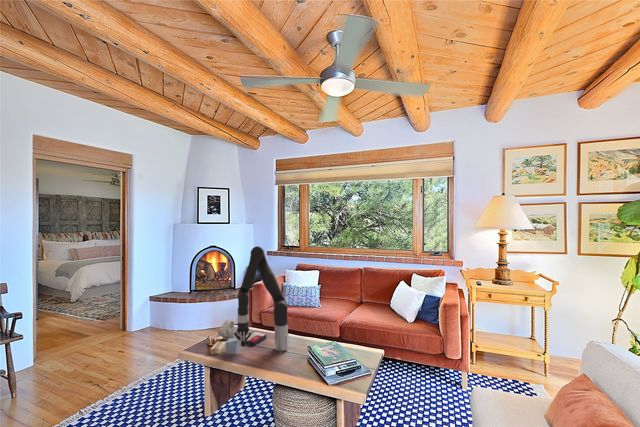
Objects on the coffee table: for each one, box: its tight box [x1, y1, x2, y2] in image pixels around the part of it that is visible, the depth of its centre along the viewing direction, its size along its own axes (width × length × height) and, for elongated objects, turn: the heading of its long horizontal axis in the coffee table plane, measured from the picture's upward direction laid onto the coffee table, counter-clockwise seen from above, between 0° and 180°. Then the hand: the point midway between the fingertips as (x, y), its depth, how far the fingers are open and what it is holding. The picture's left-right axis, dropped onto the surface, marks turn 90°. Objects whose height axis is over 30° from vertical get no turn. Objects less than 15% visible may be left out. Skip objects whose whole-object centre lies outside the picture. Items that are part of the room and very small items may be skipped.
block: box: [225, 337, 240, 355], centre depth 206 cm, size 7×7×8 cm
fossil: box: [217, 319, 235, 341], centre depth 230 cm, size 16×9×15 cm, turn 156°
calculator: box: [245, 331, 267, 347], centre depth 224 cm, size 11×4×15 cm
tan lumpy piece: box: [210, 341, 227, 355], centre depth 209 cm, size 6×12×4 cm, turn 177°
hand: (243, 346), depth 206 cm, fingers closed
